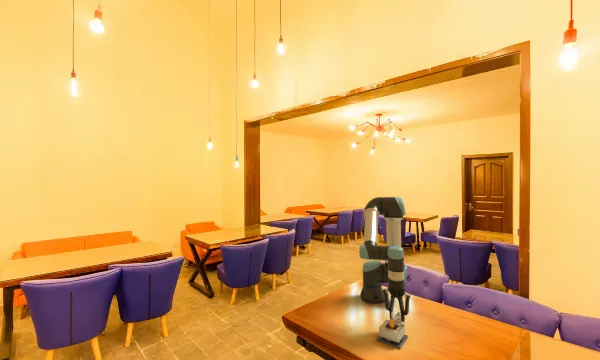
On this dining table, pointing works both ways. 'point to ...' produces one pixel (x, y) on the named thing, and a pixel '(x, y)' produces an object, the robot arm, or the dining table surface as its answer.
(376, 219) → the robot arm
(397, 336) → the square loop with stem
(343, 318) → the dining table surface
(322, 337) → the dining table surface
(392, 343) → the peg on square plate
